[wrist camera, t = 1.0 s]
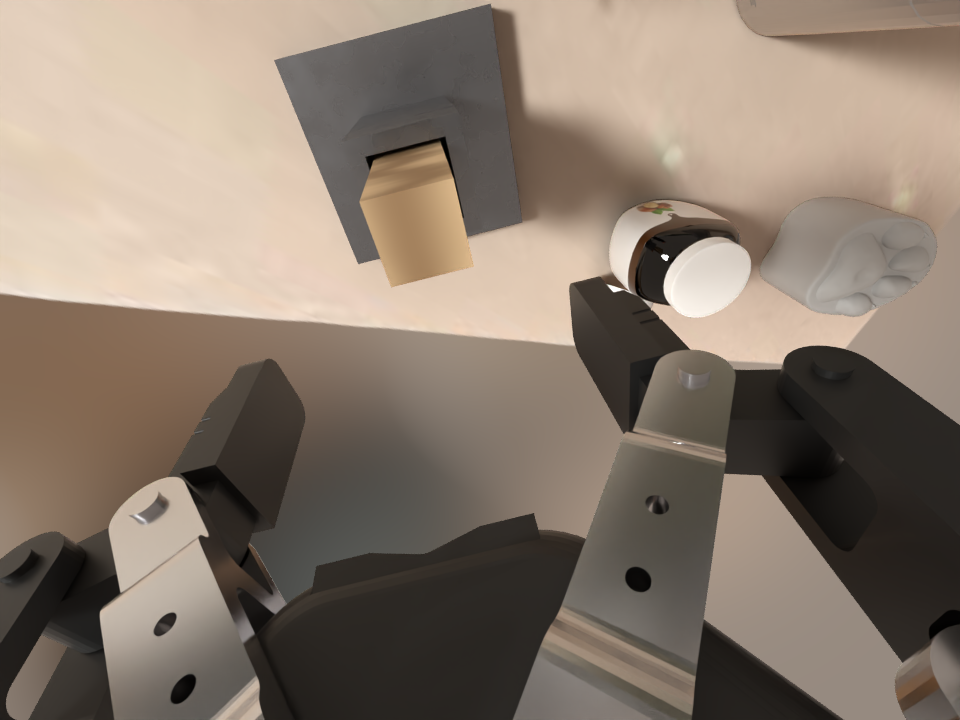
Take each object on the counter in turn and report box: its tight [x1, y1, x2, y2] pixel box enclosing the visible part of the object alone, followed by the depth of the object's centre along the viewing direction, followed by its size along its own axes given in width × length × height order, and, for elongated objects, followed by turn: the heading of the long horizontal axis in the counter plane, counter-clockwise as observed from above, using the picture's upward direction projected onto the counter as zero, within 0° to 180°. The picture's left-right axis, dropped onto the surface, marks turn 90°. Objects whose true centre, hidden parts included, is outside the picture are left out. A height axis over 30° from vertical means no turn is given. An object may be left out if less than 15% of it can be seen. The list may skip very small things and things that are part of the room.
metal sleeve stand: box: [274, 4, 522, 264], centre depth 30 cm, size 16×16×14 cm
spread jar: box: [607, 200, 751, 318], centre depth 40 cm, size 12×11×12 cm
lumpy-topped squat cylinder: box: [760, 197, 937, 317], centre depth 44 cm, size 10×13×9 cm
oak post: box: [360, 138, 474, 287], centre depth 26 cm, size 4×4×20 cm
